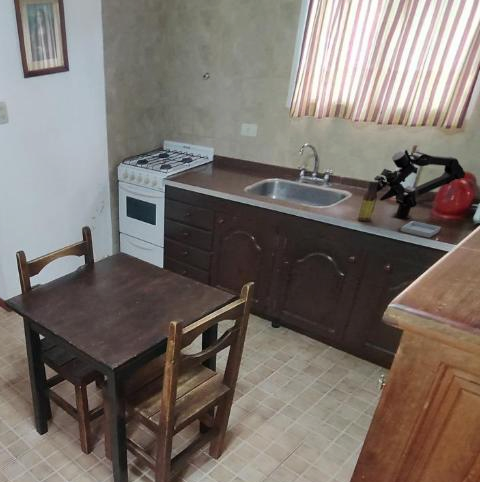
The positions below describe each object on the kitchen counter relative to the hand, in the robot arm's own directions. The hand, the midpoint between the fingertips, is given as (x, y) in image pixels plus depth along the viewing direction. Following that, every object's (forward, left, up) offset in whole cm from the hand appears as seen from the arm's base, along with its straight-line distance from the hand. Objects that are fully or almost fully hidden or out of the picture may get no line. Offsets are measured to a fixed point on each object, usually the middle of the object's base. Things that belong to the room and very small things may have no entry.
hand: (374, 197), depth 244 cm
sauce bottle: (+2, -2, -12) cm, 12 cm away
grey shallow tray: (+8, +24, -11) cm, 28 cm away
